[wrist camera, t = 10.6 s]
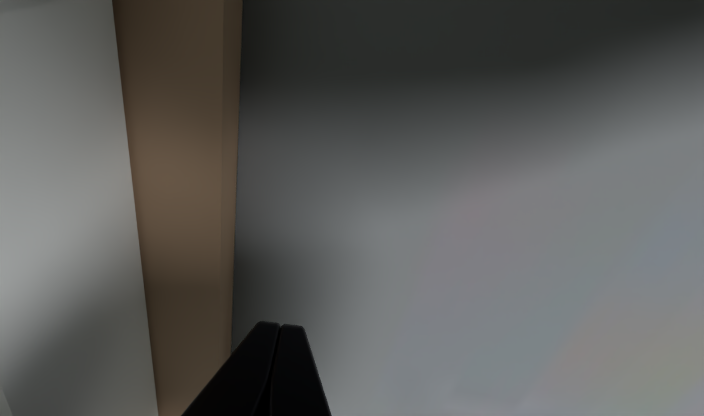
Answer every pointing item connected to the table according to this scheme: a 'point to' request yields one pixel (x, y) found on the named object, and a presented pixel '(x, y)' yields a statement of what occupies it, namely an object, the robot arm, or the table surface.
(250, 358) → the robot arm
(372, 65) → the table surface
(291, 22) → the table surface
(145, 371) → the frame
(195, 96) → the seat plate
